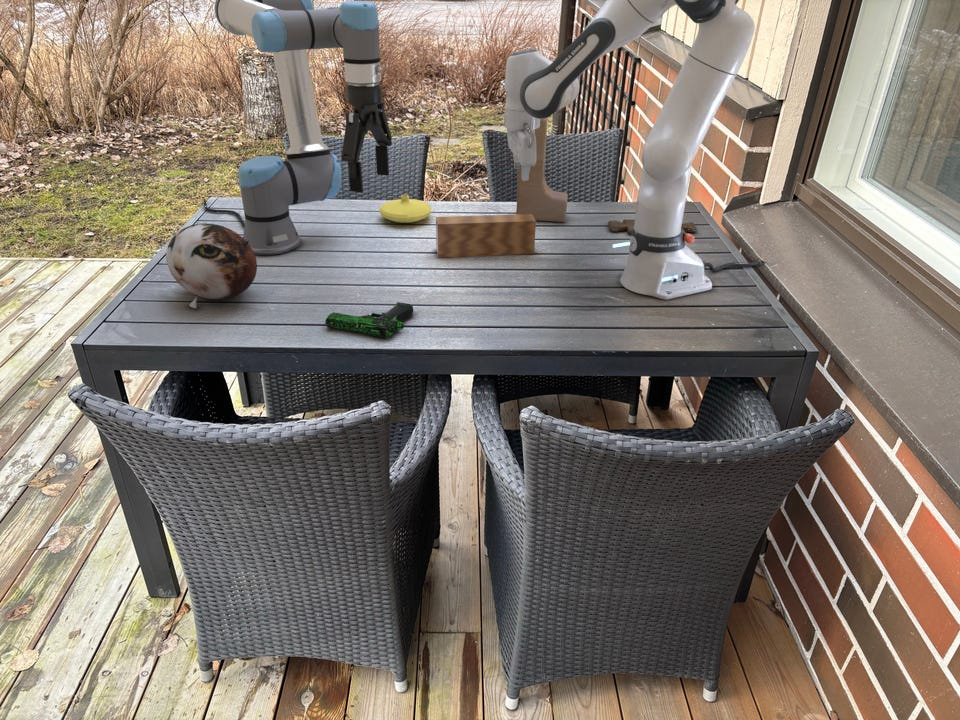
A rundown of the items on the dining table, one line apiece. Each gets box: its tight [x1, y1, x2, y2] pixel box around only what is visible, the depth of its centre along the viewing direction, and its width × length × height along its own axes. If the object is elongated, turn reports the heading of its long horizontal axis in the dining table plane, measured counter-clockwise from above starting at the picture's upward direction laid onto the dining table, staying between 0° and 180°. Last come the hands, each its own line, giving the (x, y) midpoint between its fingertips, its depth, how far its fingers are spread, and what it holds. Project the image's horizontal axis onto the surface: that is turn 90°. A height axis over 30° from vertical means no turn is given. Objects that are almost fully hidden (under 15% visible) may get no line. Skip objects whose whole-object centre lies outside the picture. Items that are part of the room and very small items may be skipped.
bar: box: [435, 213, 537, 258], centre depth 193 cm, size 26×6×9 cm, turn 98°
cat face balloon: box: [165, 222, 258, 309], centre depth 165 cm, size 22×18×20 cm
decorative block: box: [515, 117, 568, 223], centre depth 212 cm, size 8×15×30 cm, turn 82°
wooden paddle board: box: [607, 219, 697, 235], centre depth 211 cm, size 26×2×10 cm
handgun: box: [324, 301, 414, 339], centre depth 158 cm, size 16×3×15 cm
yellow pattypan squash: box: [378, 194, 433, 224], centre depth 215 cm, size 16×16×7 cm
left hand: (370, 182), depth 161 cm, fingers open, 13 cm apart
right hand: (521, 174), depth 185 cm, fingers open, 8 cm apart
